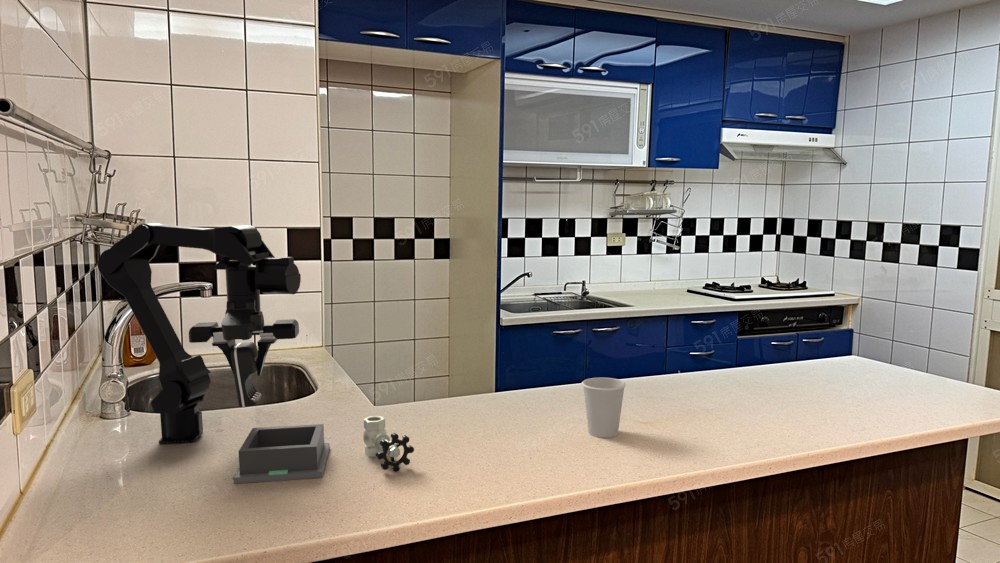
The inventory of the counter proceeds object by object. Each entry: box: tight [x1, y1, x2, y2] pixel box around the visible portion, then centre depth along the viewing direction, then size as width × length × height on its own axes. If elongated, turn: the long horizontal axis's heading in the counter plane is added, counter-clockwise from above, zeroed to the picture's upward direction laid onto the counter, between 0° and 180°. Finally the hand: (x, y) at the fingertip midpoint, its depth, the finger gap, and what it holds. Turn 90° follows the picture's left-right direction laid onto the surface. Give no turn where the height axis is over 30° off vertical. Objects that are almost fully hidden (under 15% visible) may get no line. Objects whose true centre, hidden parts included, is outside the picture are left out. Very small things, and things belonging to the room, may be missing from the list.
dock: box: [232, 423, 330, 484], centre depth 122 cm, size 14×14×5 cm
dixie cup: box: [581, 377, 627, 439], centre depth 136 cm, size 8×8×10 cm
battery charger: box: [231, 341, 262, 408], centre depth 132 cm, size 7×4×11 cm, turn 9°
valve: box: [363, 415, 415, 473], centre depth 123 cm, size 7×7×12 cm
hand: (247, 375), depth 132 cm, fingers closed on battery charger, 4 cm apart
